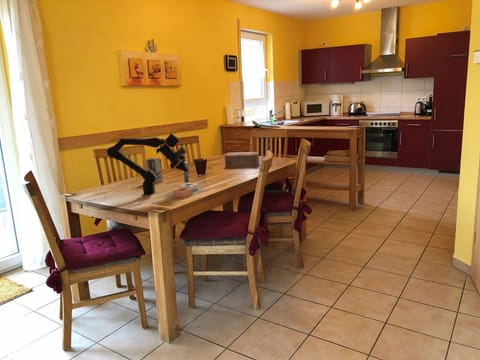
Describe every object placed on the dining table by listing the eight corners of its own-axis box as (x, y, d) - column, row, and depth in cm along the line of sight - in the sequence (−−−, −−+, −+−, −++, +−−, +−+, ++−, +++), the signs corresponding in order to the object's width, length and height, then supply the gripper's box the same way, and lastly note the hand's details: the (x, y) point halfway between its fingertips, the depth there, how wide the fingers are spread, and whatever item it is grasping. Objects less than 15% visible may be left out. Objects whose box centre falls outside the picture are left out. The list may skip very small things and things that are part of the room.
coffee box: (163, 181, 269) (161, 158, 265) (157, 183, 264) (154, 160, 260) (153, 180, 274) (151, 157, 270) (147, 182, 268) (144, 159, 265)
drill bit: (187, 182, 230) (186, 162, 227) (183, 182, 231) (181, 162, 229) (190, 181, 232) (189, 162, 230) (186, 181, 234) (184, 161, 231)
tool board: (185, 200, 216) (184, 198, 215) (162, 198, 224) (162, 196, 223) (207, 191, 234) (207, 189, 234) (186, 189, 242) (185, 187, 242)
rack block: (184, 197, 218) (183, 191, 217) (173, 196, 222) (172, 190, 221) (192, 194, 225) (192, 188, 224) (181, 193, 229) (181, 187, 228)
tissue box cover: (259, 163, 319) (258, 151, 317) (257, 167, 305) (256, 154, 303) (228, 164, 323) (227, 152, 321) (225, 167, 309) (224, 155, 307)
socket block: (190, 192, 229) (189, 186, 229) (179, 191, 233) (179, 185, 233) (198, 189, 236) (197, 183, 235) (187, 188, 240) (187, 182, 239)
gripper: (173, 145, 218) (194, 164, 219) (180, 141, 236) (199, 158, 238) (161, 159, 220) (182, 177, 222) (169, 154, 238) (188, 171, 240)
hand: (188, 170), depth 230 cm, fingers closed on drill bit, 3 cm apart
